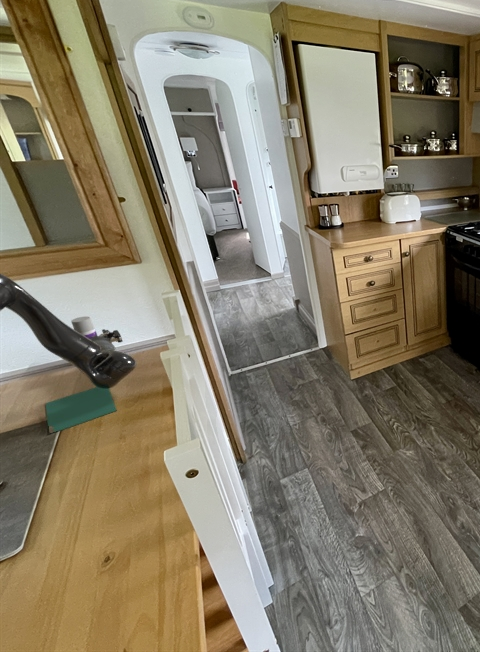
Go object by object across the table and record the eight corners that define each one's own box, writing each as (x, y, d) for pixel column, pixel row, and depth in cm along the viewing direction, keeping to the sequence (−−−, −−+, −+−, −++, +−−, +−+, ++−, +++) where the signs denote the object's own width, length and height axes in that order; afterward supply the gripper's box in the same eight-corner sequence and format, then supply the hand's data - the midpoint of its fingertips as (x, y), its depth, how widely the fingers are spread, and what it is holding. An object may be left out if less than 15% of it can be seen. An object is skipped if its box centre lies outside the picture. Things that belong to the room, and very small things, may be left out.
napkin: (116, 410, 104) (116, 410, 104) (49, 434, 95) (48, 433, 95) (107, 384, 115) (106, 383, 115) (45, 403, 106) (45, 403, 106)
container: (104, 360, 128) (88, 320, 122) (85, 363, 125) (68, 323, 120) (106, 354, 131) (91, 315, 126) (88, 357, 129) (72, 318, 123)
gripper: (124, 333, 120) (111, 319, 130) (62, 349, 110) (52, 333, 119) (131, 353, 123) (118, 338, 132) (71, 371, 113) (61, 354, 122)
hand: (87, 336), depth 126 cm, fingers open, 8 cm apart
